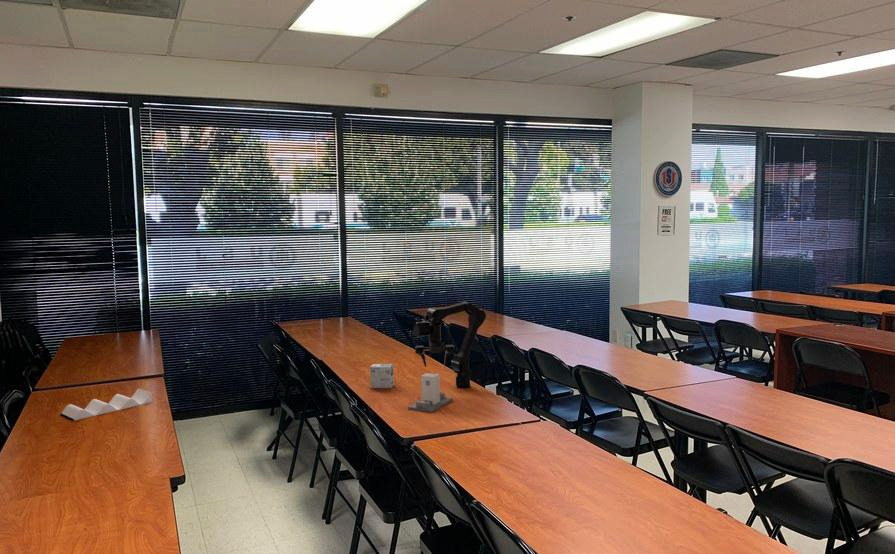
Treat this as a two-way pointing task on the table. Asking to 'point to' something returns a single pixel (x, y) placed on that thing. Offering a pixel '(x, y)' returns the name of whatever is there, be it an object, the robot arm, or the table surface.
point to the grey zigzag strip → (107, 405)
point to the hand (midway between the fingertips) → (435, 366)
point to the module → (430, 388)
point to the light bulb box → (381, 376)
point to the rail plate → (430, 404)
